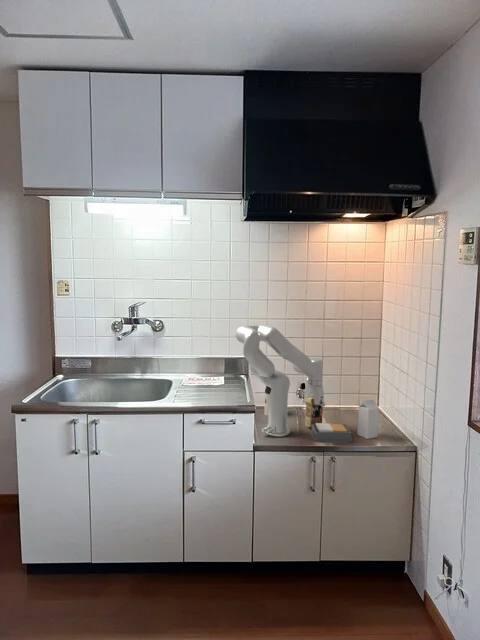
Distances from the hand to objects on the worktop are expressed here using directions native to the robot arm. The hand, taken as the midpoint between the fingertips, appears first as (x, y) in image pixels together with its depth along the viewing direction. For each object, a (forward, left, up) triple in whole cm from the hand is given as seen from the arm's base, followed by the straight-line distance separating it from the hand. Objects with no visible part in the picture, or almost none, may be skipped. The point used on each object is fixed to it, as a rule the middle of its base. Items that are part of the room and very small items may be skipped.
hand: (313, 415), depth 256 cm
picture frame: (-4, -15, -2) cm, 15 cm away
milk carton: (+12, -26, -7) cm, 29 cm away
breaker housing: (-4, -15, -7) cm, 17 cm away
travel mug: (-2, +29, -7) cm, 30 cm away
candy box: (0, 0, -6) cm, 6 cm away
